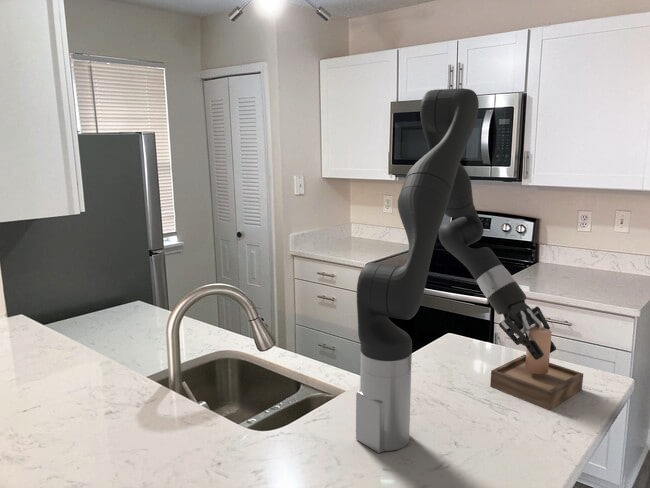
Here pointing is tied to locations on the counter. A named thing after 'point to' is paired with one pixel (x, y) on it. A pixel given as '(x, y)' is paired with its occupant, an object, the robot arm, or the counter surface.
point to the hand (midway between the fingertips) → (546, 354)
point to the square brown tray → (537, 383)
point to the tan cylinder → (544, 343)
